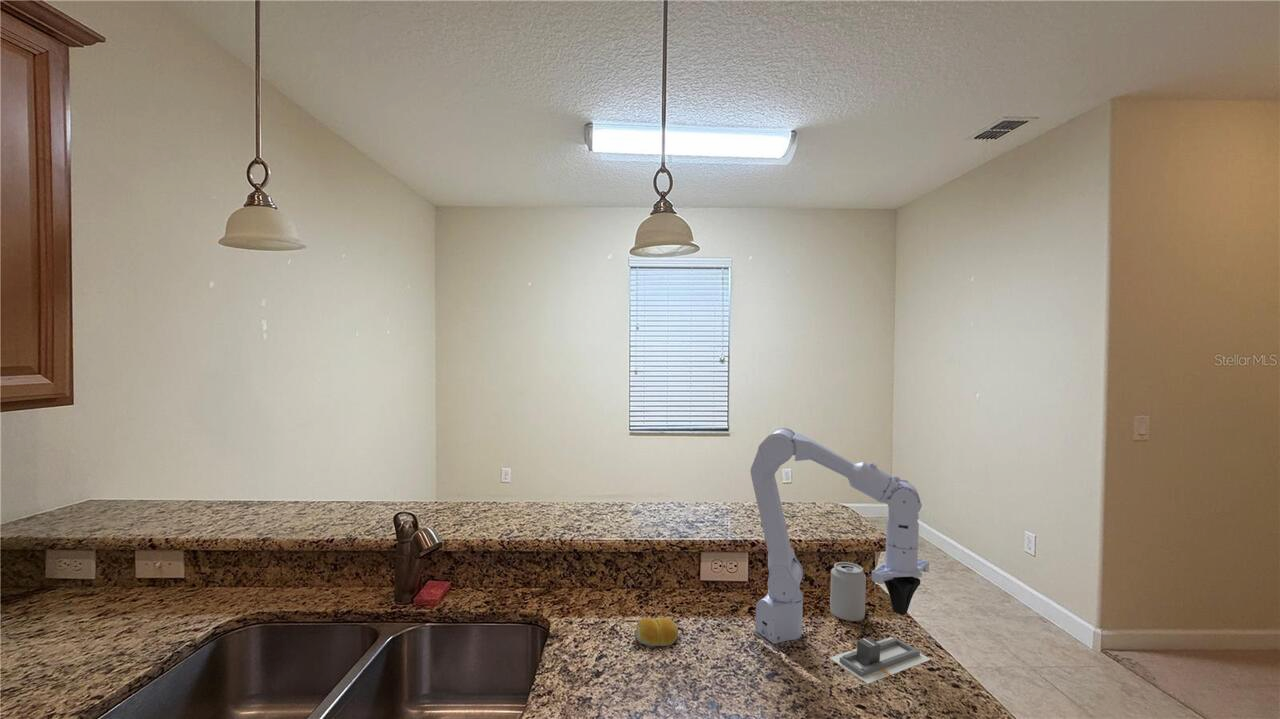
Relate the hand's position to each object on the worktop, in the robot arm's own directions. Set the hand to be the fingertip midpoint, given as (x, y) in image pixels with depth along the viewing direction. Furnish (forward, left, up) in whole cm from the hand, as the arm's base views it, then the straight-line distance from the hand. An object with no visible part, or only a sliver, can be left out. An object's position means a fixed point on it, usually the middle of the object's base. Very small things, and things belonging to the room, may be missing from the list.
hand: (899, 612), depth 105 cm
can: (+5, +17, -10) cm, 20 cm away
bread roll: (-39, +28, -10) cm, 49 cm away
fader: (-8, +1, -9) cm, 12 cm away
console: (-4, +1, -10) cm, 11 cm away
